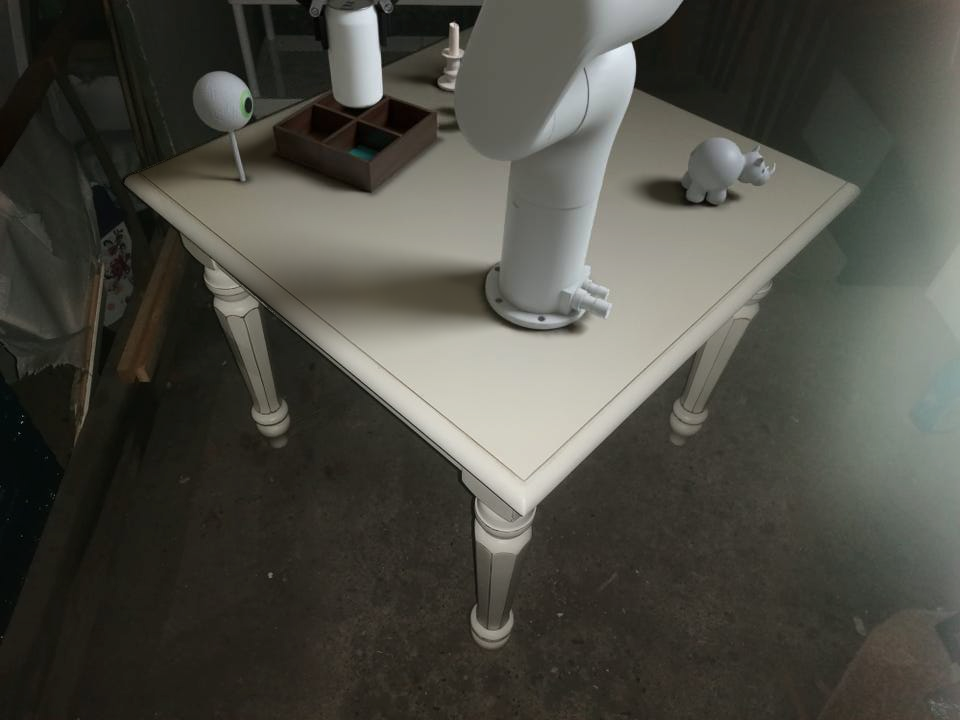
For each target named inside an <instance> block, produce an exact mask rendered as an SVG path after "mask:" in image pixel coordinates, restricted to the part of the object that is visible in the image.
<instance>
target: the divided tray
mask: <svg viewBox="0 0 960 720" xmlns="http://www.w3.org/2000/svg"><path fill="white" fill-rule="evenodd" d="M271 128H272V131H273V136H274V142H275V146H276V152H277V155H278V156H281V157H283V158H286V159H288V160H291V161H293V162H295V163H298V164H300V165H303V166H305V167H308V168H310V169H312V170H314V171H318V172H320V173H322V174H325V175H327V176H329V177H333V178H335V179H337V180H340V181H342V182H345V183H347V184H350V185H352V186H353V187H354V186H355V187H357V188H360V189H362V190H365V191H367V192H370V193H373V192H374V191H376V190H377V189H378V188H379V187H380V186H381V185H383V184H384V183H386V181H388V180H389V179H390V178H392V177H393V176H394V175H395V174H396V173H398V172H399V171H400V170H402V169H403V168H404V167H405V166H407V165H408V164H409V163H410V162H412V160H414V159H415V158H416V157H417V156H419V155H420V154H422V152H423V151H425V150H426V149H427V148H428V147H430V146H431V145H432V144H434V143H435V142H436V141H437V140H438V112H437V111H434V110H432V109H429V108H427V107H423V106H420V105H417V104H415V103H411V102H408V101H406V100H403V99H400V98H397V97H394V96H391V95H388V94H386V93H383V96H382V98H381V99H380V101H379V102H378V103H376V104H375V105H373V106H370V107H366V108H350V107H346V106H343V105H341V104H340V103H339V102H338V101H337V100H336V99H335V98H334V95H333V88H331V89H330V90H329V91H327V92H325V93H323V94H322V95H321V96H319V97H317V98H315V99H314V100H313V101H311V102H309V103H307V104H306V105H304V106H303V107H301V108H299V109H298V110H297V111H294V112H293V113H292V114H290V115H288V116H286V117H285V118H284V119H282V120H280V121H279V122H277V123H275V124H274V125H272V127H271Z"/></svg>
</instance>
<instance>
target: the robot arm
mask: <svg viewBox="0 0 960 720" xmlns="http://www.w3.org/2000/svg"><path fill="white" fill-rule="evenodd" d="M295 1H296V2H297V3H298V4H299V5H300V6H302V7H303V8H304V9H305V10H306V11H307V12H309V14H310V16H311V21H312V30H313V35H314V41H315V42H320V45H321V49H322V51H323V52H326V51H327V52H328V49H329V47H328V38H327V30H326V21H325V16H324V12H325V11H324V9H323V5H324V3H325V0H295ZM399 1H400V0H377V3H376V5H375V8H376V10H377V13H378V21H379V35H380V47H382V48H387V47H388V40H387V38H391V37H392V25H391V24H392V23H391V22H392V21H391V13H392V12H393V11H394V7H395V5H397V3H398V2H399ZM683 2H684V0H483V2H482V6H481V8H480V10H479V13H478V15H477V19H476V20H475V23H474V26H473V28H472V31H471V33H470V36H469V39H468V41H467V43H466V46H465V49H464V50H463V51H464V54H463V56H462V57H461V58H460V65H459V68H458V72H457V76H456V81H455V88H454V91H453V104H454V105H453V106H454V113H455V118H456V122H457V126H458V128H459V131H460V133H461V135H462V136H463V138H464V140H465V142H466V143H467V144H468V145H469V146H470V148H472V150H474V151H475V152H476V153H477V154H479V155H480V156H482V157H484V158H486V159H489V160H493V161H496V162H510V165H509V174H508V175H509V176H508V181H507V193H506V203H505V214H504V224H503V235H502V245H501V255H500V260H499V261H498V262H497V263H496V264H494V265H493V266H492V268H491V269H489V272H488V274H487V275H486V278H485V279H486V280H485V296H486V299H487V302H488V303H489V305H490V307H491V308H492V309H493V310H494V311H495V312H496V313H497V314H498V315H499V316H501V317H502V318H503V319H505V320H506V321H508V322H511V323H512V324H515V325H517V326H520V327H524V328H528V329H533V330H552V329H553V330H554V329H559V328H563V327H566V326H568V325H570V324H572V323H574V322H576V321H577V320H579V319H580V318H581V317H582V316H583V315H584V314H585V313H586V311H587V312H588V313H590V314H591V315H594V316H596V317H598V318H601V319H603V320H606V319H607V318H608V317H609V315H610V312H611V310H612V307H613V303H611V302H609V301H607V299H608V297H609V294H610V291H611V290H610V289H609V288H607V287H605V286H602V285H598V284H596V283H593V279H590V274H591V269H592V267H591V266H590V265H587V264H585V263H586V259H587V258H586V257H587V253H588V249H589V245H590V239H591V236H592V231H593V225H594V221H595V218H596V217H595V216H596V212H597V208H598V203H599V197H600V195H601V194H600V193H601V190H602V187H603V182H604V177H605V174H606V169H607V165H608V162H609V157H610V154H611V150H612V148H613V144H614V141H615V139H616V136H617V134H618V131H619V128H620V127H621V124H622V122H623V119H624V117H625V115H626V112H627V109H628V106H629V104H630V101H631V98H632V96H633V92H634V88H635V87H634V86H635V82H636V77H637V76H636V74H637V60H636V59H637V58H636V53H635V49H634V46H633V45H634V44H633V43H632V42H635V41H637V40H640V39H641V38H644V37H645V36H647V35H649V34H651V33H652V32H654V31H655V30H657V29H659V28H660V27H662V26H663V25H664V24H665V23H667V22H668V21H669V20H670V19H671V17H672V16H673V15H674V14H675V12H676V11H677V10H678V9H679V7H680V5H681V4H682V3H683Z"/></svg>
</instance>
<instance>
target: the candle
mask: <svg viewBox="0 0 960 720" xmlns="http://www.w3.org/2000/svg"><path fill="white" fill-rule="evenodd" d="M459 26H460V25H459V24H457V23H456V21H455V20H454V21H453V22H450V23H449V29H448V30H449V33H448V47H446V48H444V49H442V50H441V55H442V56H443V57H445V58H446V66H445V67H444V68H443V74H444V75H441V76H440V77H438V78H437V86H438V87H439V88H440V89H441V90H443V91H447V92H454V88H455V81H456V76H457V72H458V68H459V65H460V62H461V59H462V56H463V54H464V51H465V50H464V49H462V48H460V27H459Z"/></svg>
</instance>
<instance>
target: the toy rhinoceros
mask: <svg viewBox="0 0 960 720" xmlns="http://www.w3.org/2000/svg"><path fill="white" fill-rule="evenodd" d="M760 148H761V146H760V145H757V146H756V147H754V148H753V149H752V150H751V151H747V152H744V153H742V152H741V149H740V148H739V146H738V145H737V144H736V143H735V142H734V141H733V140H730V139H729V138H726V137H719V136H717V137H710V138H708V139H705V140H703V141H701V142H700V143H699V144H698V145H697V146H695V148H694V149H692V151H691V152H690V155H689V158H688V161H687V162H688V163H687V170H686V171H685V173H683V175H682V177H681V180H680V183H681V186H682V187H683V188H684V189H686V194H685V198H686V199H687V200H688V201H689V202H692V203H701V202H704V200H705V199H706V201H707V202H708V203H710V204H711V205H714V206H715V205H716V206H717V205H721V204H723V203H724V202H725V200H726V199H727V189H728V188H730V187H731V186H732V185H733V184H734V183H735V182H737V180H738V181H739V182H740V183H742V184H751V185H753V186H754V187H762V186H764V185H766V183H768V182H769V180H770V178H771V177H770V176H771V175H773V173H774V172H775V170H776V163H775V162H773V164H772V166H771V167H769V165H767V166H766V164H765V160H766V159H765V157H764V156H762V155H761V154H760V152H759V150H760Z"/></svg>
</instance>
